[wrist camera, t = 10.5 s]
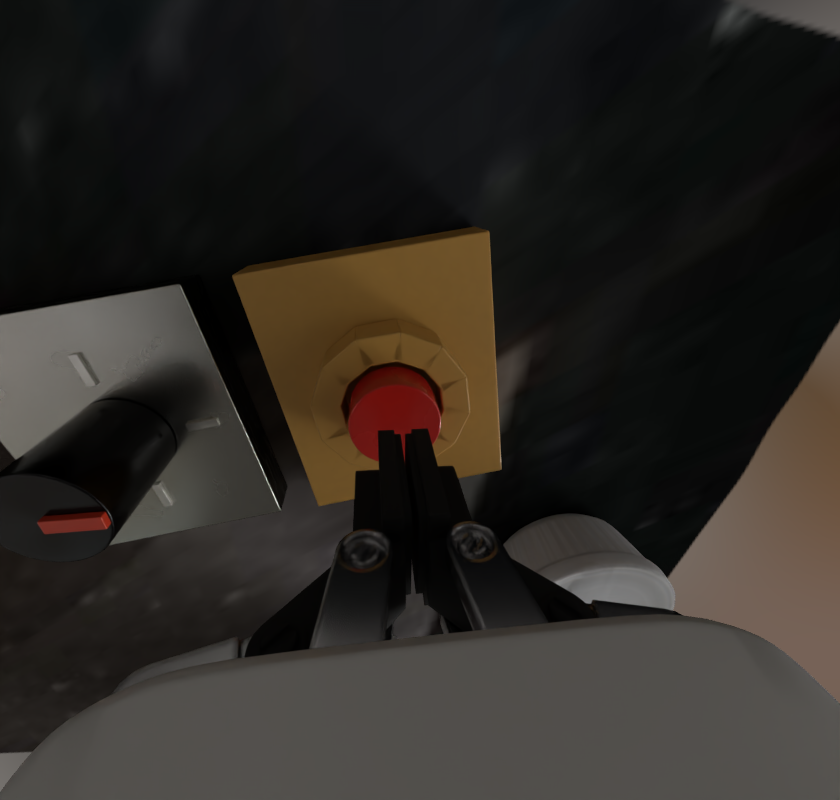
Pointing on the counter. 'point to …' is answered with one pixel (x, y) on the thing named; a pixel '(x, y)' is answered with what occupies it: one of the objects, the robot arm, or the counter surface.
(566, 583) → the ramekin
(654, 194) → the counter surface
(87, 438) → the dial
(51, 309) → the dial plate
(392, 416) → the press knob
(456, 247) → the knob block
